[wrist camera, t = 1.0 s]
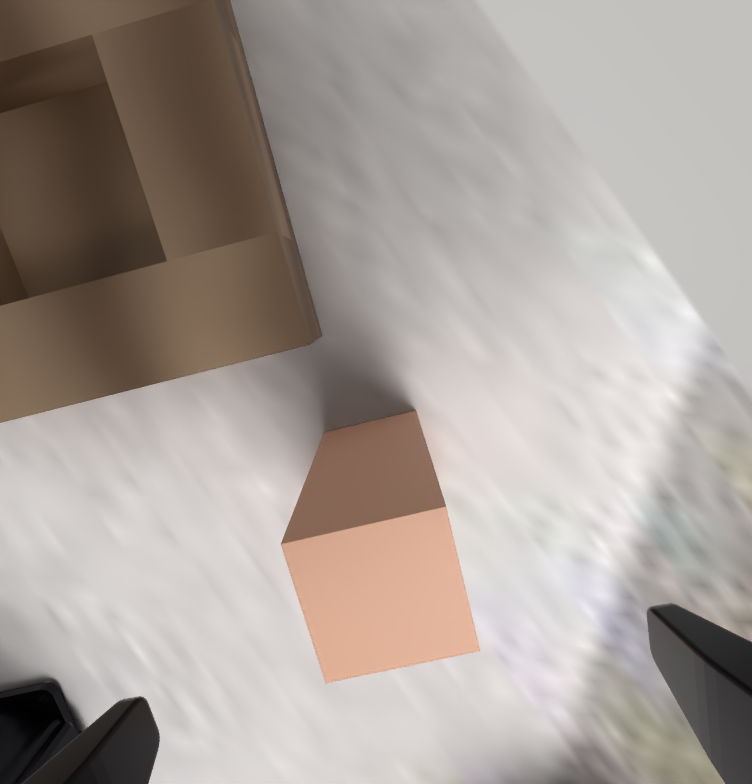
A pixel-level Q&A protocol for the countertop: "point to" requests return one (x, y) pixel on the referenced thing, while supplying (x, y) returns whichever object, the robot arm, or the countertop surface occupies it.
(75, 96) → the walnut socket block
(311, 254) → the countertop surface
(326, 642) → the terracotta peg
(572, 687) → the countertop surface
